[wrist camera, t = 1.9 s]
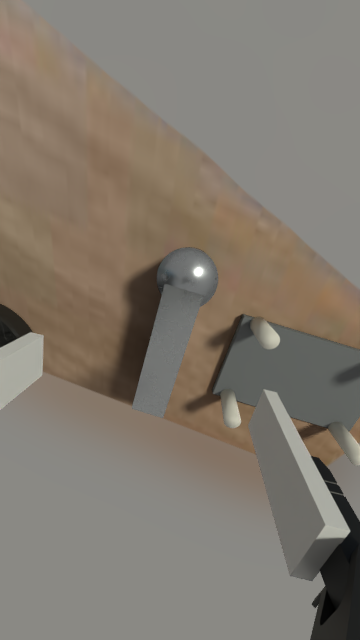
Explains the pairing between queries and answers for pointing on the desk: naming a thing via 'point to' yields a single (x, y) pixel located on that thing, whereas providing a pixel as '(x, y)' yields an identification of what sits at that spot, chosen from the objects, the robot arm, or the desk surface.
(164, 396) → the grey ball-ended handle
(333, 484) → the robot arm
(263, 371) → the pad
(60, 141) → the desk surface
